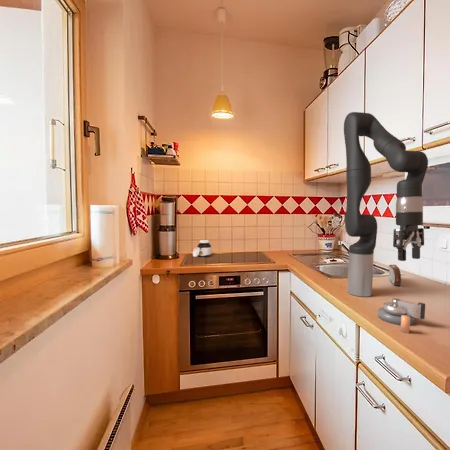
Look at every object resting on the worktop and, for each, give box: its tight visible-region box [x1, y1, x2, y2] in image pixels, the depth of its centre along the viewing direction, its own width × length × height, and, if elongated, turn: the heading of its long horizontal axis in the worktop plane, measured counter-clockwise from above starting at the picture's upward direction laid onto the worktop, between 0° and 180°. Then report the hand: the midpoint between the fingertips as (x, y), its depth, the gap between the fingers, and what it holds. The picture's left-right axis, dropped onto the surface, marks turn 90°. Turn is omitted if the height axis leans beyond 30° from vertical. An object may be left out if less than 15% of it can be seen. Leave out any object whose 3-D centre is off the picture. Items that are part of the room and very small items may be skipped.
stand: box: [377, 306, 415, 334], centre depth 87 cm, size 15×10×4 cm, turn 2°
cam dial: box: [383, 297, 426, 320], centre depth 88 cm, size 11×7×4 cm, turn 42°
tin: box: [388, 264, 402, 287], centre depth 131 cm, size 15×3×8 cm, turn 158°
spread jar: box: [192, 239, 213, 258], centre depth 199 cm, size 12×11×12 cm
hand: (409, 259), depth 92 cm, fingers open, 8 cm apart
